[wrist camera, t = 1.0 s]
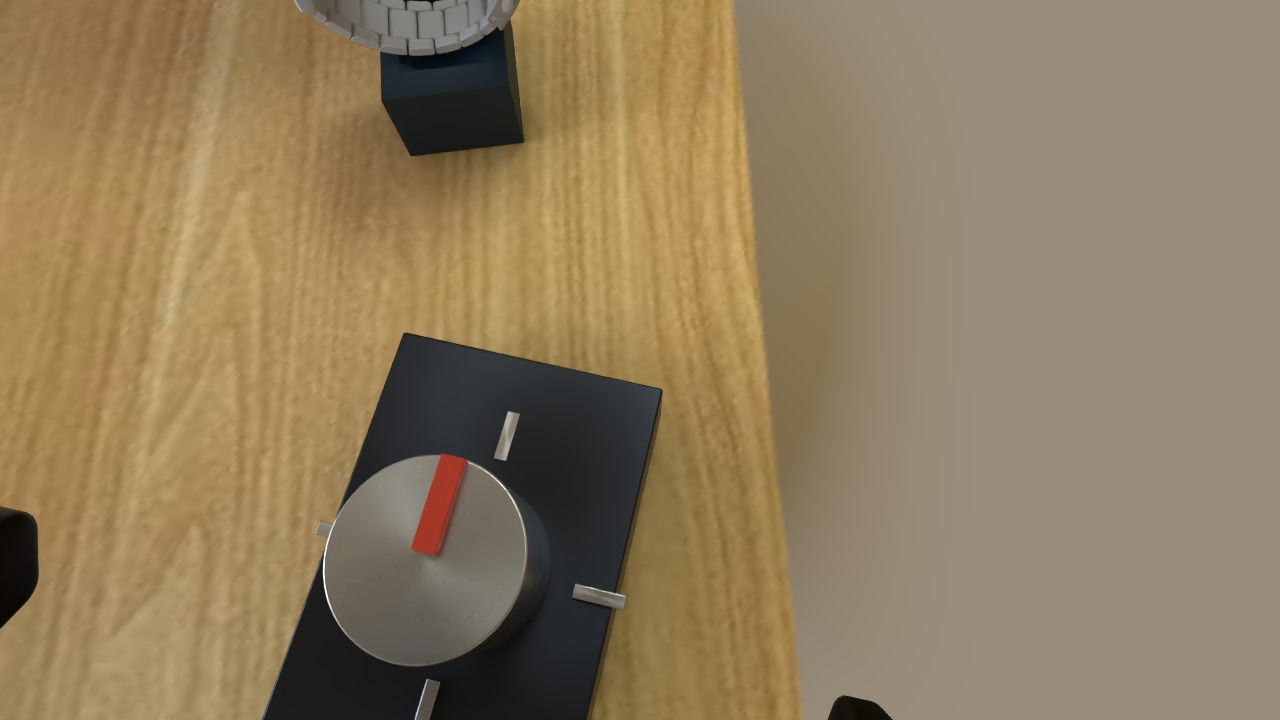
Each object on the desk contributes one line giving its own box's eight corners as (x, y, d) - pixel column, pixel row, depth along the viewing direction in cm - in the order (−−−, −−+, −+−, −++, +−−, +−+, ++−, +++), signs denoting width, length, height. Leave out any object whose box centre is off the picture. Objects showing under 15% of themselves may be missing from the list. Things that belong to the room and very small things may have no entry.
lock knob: (525, 672, 18) (490, 692, 14) (362, 630, 18) (282, 638, 14) (569, 502, 19) (549, 476, 15) (417, 466, 20) (359, 431, 16)
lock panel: (577, 826, 19) (565, 866, 16) (287, 746, 20) (225, 772, 17) (669, 416, 23) (673, 389, 20) (423, 361, 24) (391, 327, 21)
